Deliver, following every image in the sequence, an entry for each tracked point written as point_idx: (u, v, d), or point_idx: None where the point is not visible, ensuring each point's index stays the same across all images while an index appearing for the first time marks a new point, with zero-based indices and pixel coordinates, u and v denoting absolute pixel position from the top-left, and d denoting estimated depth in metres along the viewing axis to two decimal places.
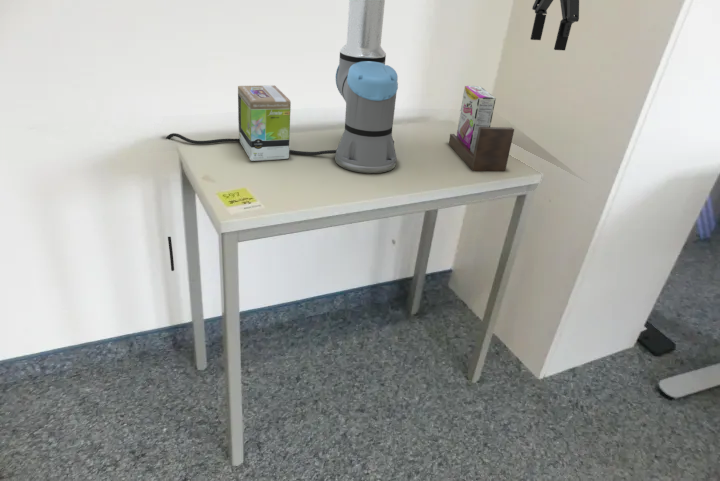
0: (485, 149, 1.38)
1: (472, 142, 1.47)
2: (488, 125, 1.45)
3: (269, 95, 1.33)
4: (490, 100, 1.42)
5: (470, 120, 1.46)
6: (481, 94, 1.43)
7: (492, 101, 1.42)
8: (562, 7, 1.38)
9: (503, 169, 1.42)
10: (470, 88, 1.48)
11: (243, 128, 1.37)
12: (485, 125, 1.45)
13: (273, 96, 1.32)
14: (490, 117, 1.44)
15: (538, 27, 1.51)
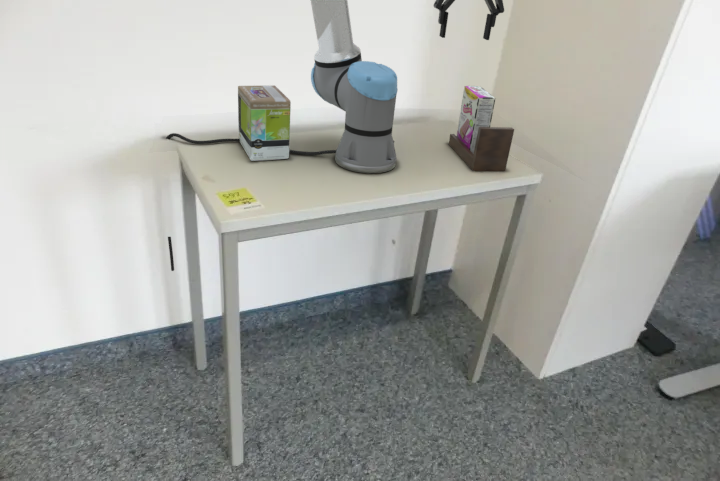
0: (485, 149, 1.38)
1: (472, 142, 1.47)
2: (488, 125, 1.45)
3: (269, 95, 1.33)
4: (489, 100, 1.42)
5: (470, 120, 1.46)
6: (481, 94, 1.43)
7: (492, 101, 1.42)
8: None
9: (503, 169, 1.42)
10: (470, 88, 1.48)
11: (243, 128, 1.37)
12: (485, 125, 1.45)
13: (273, 96, 1.32)
14: (490, 117, 1.44)
15: (486, 26, 1.56)
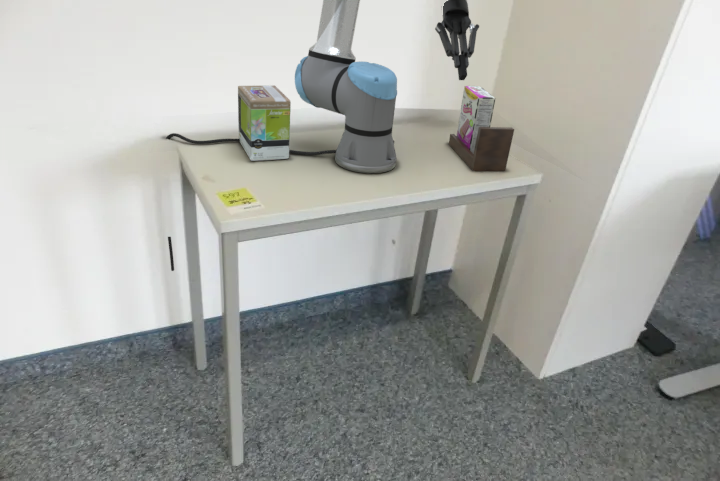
0: (485, 149, 1.38)
1: (472, 142, 1.47)
2: (488, 125, 1.45)
3: (269, 95, 1.33)
4: (489, 100, 1.42)
5: (470, 120, 1.46)
6: (481, 94, 1.43)
7: (492, 101, 1.42)
8: None
9: (503, 169, 1.42)
10: (470, 88, 1.48)
11: (243, 128, 1.37)
12: (485, 125, 1.45)
13: (273, 96, 1.32)
14: (490, 117, 1.44)
15: None
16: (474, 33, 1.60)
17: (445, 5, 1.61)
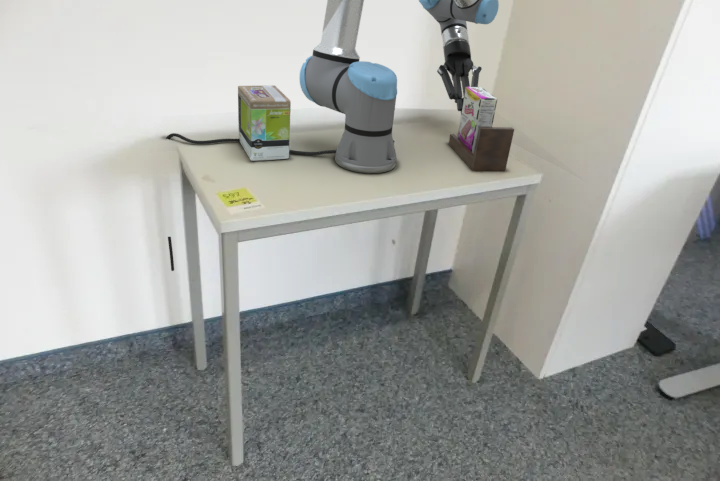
0: (485, 149, 1.38)
1: (474, 143, 1.46)
2: (490, 126, 1.44)
3: (269, 95, 1.33)
4: (491, 101, 1.41)
5: (471, 121, 1.46)
6: (482, 95, 1.43)
7: (494, 102, 1.41)
8: None
9: (503, 169, 1.42)
10: (471, 89, 1.47)
11: (243, 128, 1.37)
12: (487, 126, 1.44)
13: (273, 96, 1.32)
14: (492, 118, 1.43)
15: None
16: (477, 75, 1.59)
17: (447, 47, 1.59)
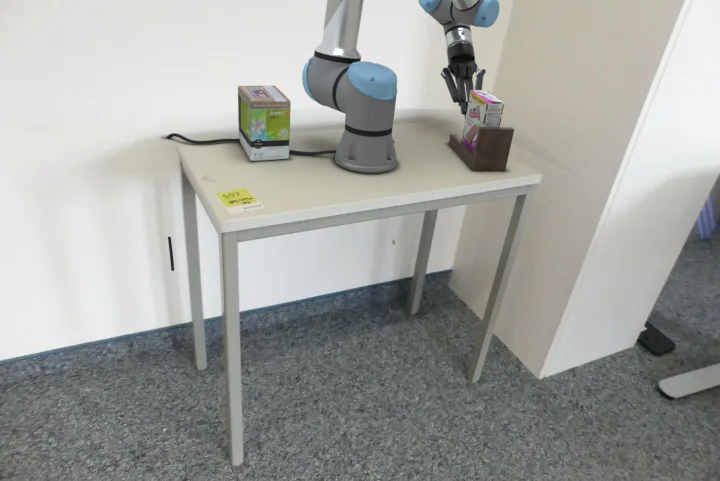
0: (485, 149, 1.38)
1: None
2: None
3: (269, 95, 1.33)
4: (498, 104, 1.38)
5: (477, 125, 1.43)
6: (489, 98, 1.40)
7: (501, 105, 1.39)
8: None
9: (503, 169, 1.42)
10: (476, 92, 1.44)
11: (243, 128, 1.37)
12: None
13: (273, 96, 1.32)
14: (499, 122, 1.41)
15: None
16: (481, 78, 1.56)
17: (451, 50, 1.56)
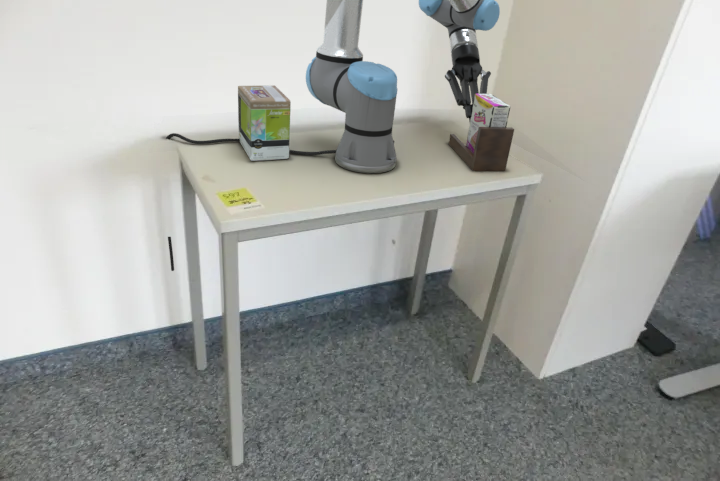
0: (485, 149, 1.38)
1: None
2: None
3: (269, 95, 1.33)
4: (504, 108, 1.36)
5: None
6: (495, 102, 1.37)
7: (507, 109, 1.36)
8: None
9: (503, 169, 1.42)
10: (481, 96, 1.42)
11: (243, 128, 1.37)
12: None
13: (273, 96, 1.32)
14: (504, 126, 1.38)
15: None
16: (486, 81, 1.53)
17: (455, 51, 1.53)
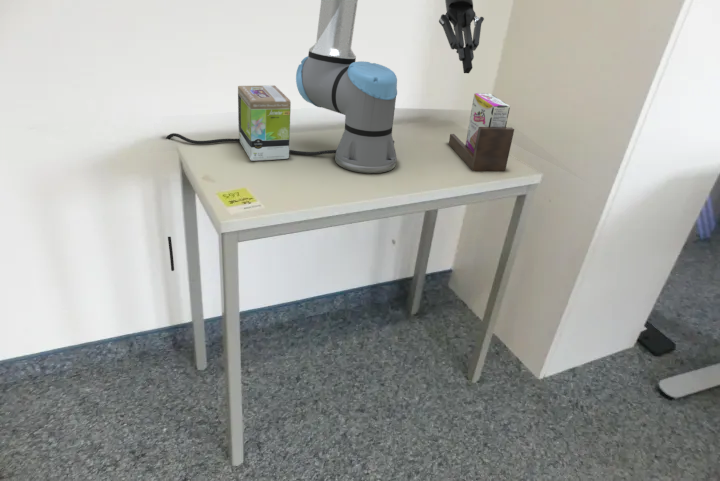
0: (485, 149, 1.38)
1: None
2: None
3: (269, 95, 1.33)
4: (504, 108, 1.36)
5: None
6: (494, 102, 1.37)
7: (506, 109, 1.36)
8: None
9: (503, 169, 1.42)
10: (481, 96, 1.42)
11: (243, 128, 1.37)
12: None
13: (273, 96, 1.32)
14: (504, 126, 1.38)
15: None
16: (479, 25, 1.57)
17: None
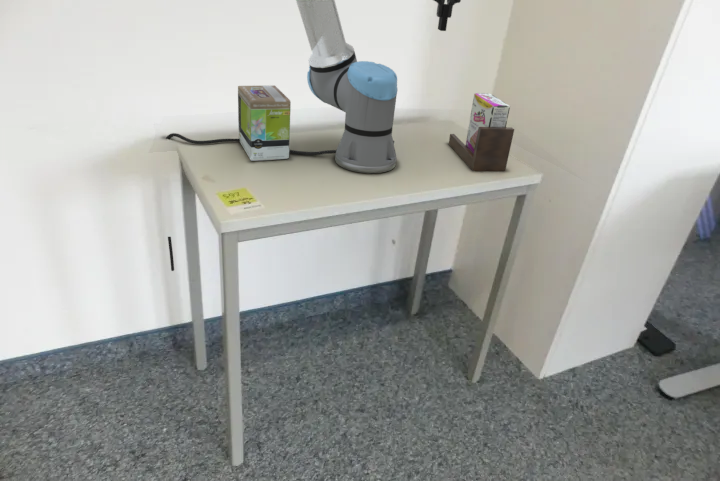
0: (485, 149, 1.38)
1: None
2: None
3: (269, 95, 1.33)
4: (504, 108, 1.36)
5: None
6: (494, 102, 1.37)
7: (506, 109, 1.36)
8: None
9: (503, 169, 1.42)
10: (481, 96, 1.42)
11: (243, 128, 1.37)
12: None
13: (273, 96, 1.32)
14: (504, 126, 1.38)
15: None
16: None
17: None
